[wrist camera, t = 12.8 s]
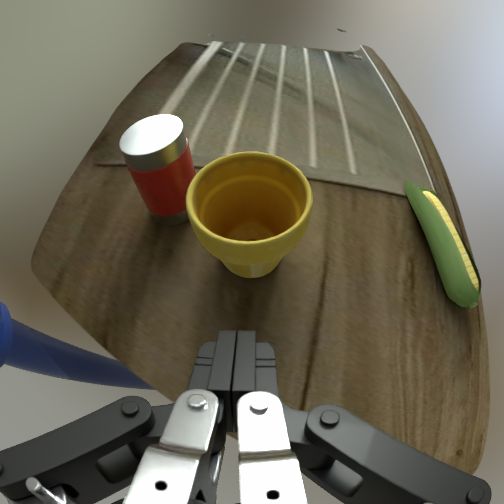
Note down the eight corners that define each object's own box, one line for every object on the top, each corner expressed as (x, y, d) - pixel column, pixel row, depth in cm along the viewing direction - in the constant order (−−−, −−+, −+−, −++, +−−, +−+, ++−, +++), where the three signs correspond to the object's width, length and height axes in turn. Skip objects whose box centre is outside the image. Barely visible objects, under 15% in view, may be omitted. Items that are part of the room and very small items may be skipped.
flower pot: (239, 198, 34) (235, 136, 25) (314, 238, 31) (333, 179, 22) (185, 261, 30) (159, 207, 21) (264, 313, 27) (269, 273, 18)
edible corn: (448, 319, 26) (470, 306, 22) (391, 186, 35) (402, 163, 31) (473, 308, 26) (494, 295, 22) (416, 184, 35) (428, 164, 31)
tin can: (179, 235, 32) (149, 164, 21) (140, 213, 33) (105, 146, 23) (212, 195, 34) (198, 120, 24) (172, 177, 36) (151, 109, 26)
